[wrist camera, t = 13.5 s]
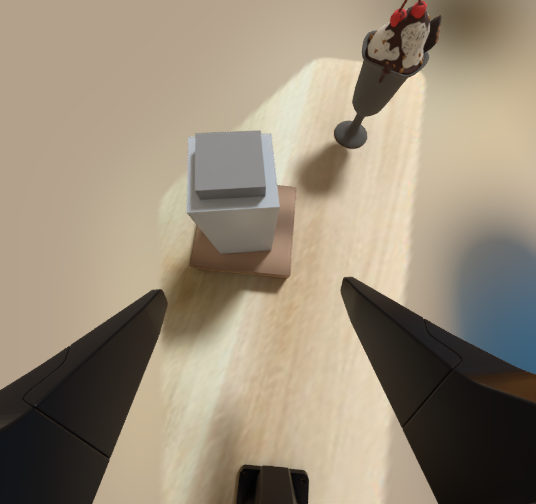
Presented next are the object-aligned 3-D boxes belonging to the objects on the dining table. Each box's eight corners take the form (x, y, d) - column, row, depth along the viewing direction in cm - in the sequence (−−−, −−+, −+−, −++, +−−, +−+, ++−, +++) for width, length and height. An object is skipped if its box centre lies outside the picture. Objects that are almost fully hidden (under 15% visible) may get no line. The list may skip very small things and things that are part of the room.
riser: (286, 278, 24) (290, 275, 21) (198, 269, 24) (189, 265, 21) (292, 199, 26) (296, 187, 24) (213, 191, 26) (207, 177, 23)
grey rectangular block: (271, 250, 21) (281, 198, 11) (220, 254, 21) (179, 204, 10) (266, 205, 23) (272, 120, 12) (219, 208, 22) (182, 123, 12)
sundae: (321, 140, 28) (383, -28, 14) (340, 111, 30) (413, -69, 15) (361, 160, 28) (471, 5, 13) (378, 129, 29) (494, -41, 15)
